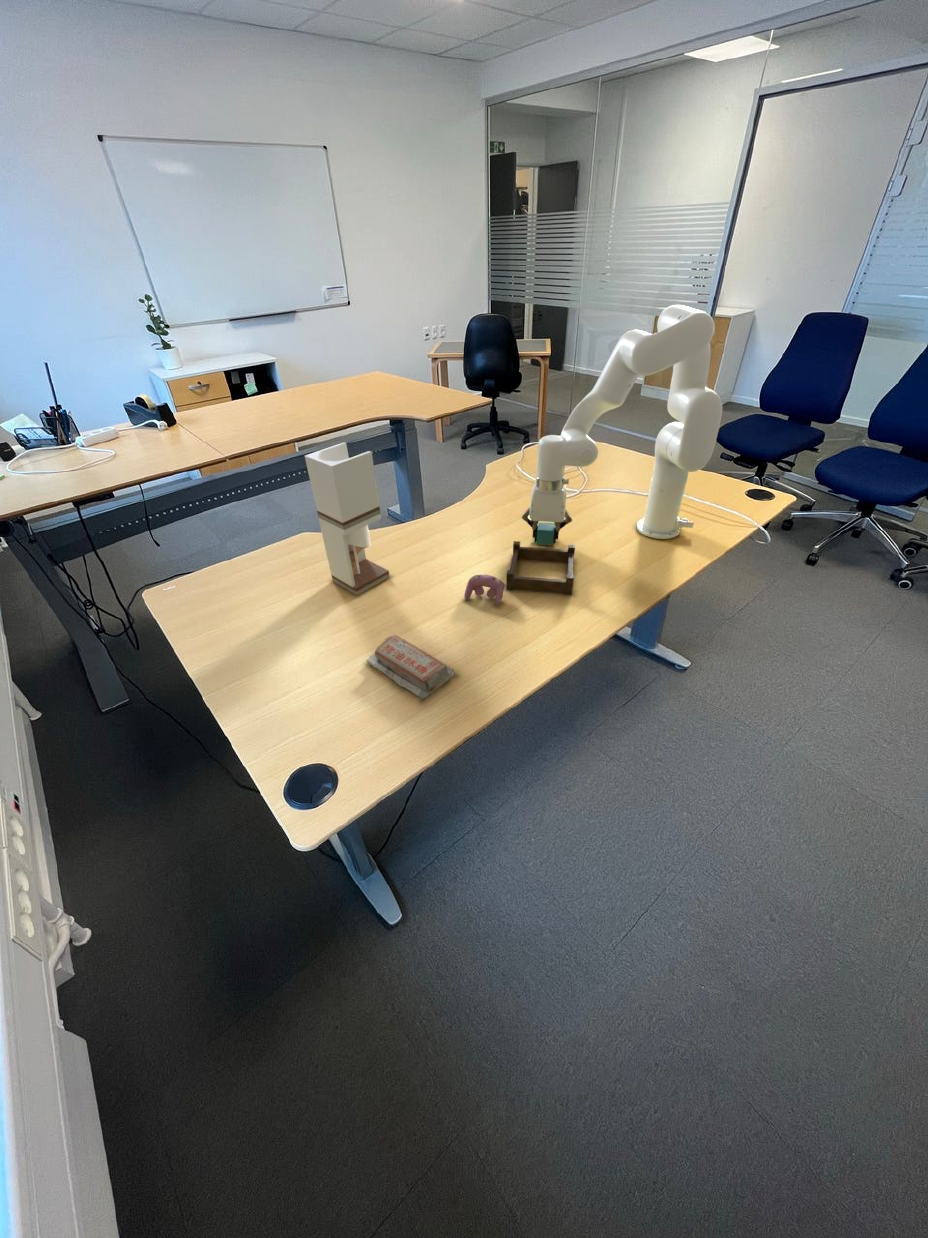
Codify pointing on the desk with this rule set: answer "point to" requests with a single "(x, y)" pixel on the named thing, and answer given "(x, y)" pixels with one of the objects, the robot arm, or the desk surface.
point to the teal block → (545, 533)
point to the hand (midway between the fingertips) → (545, 539)
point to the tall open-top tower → (346, 514)
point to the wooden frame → (541, 583)
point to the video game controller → (486, 581)
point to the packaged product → (410, 666)
